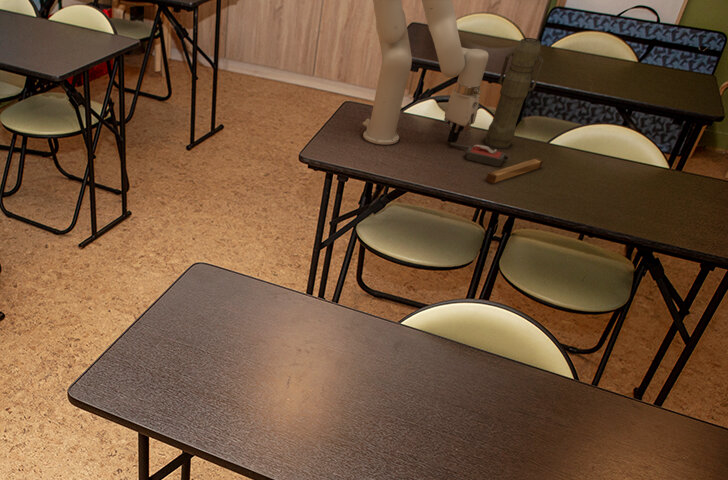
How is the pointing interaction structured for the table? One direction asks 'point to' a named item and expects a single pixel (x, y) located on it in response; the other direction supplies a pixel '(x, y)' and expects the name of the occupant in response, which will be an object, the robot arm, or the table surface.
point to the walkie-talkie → (483, 154)
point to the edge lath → (514, 170)
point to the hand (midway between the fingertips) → (452, 141)
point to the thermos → (513, 92)
